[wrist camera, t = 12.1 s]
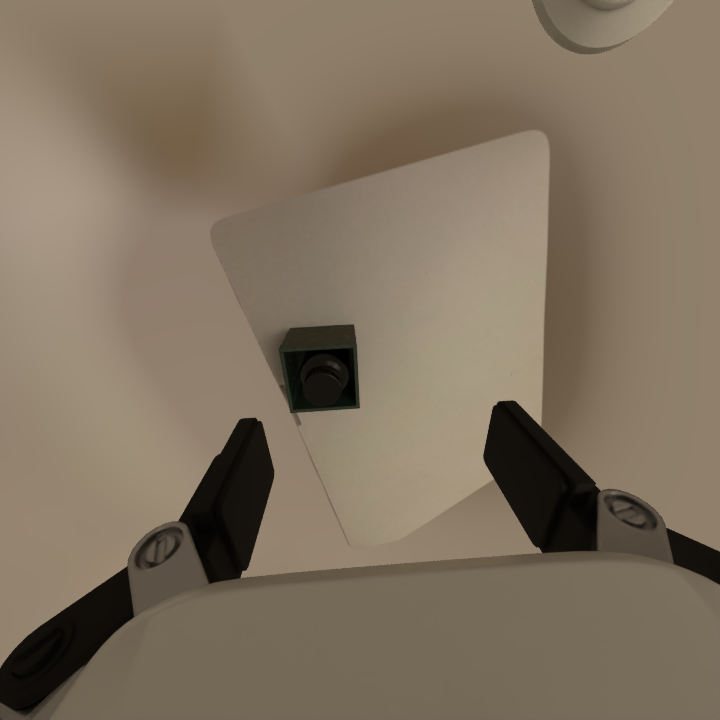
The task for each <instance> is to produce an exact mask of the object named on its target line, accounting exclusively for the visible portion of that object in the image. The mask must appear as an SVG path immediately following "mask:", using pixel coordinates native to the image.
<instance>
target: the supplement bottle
mask: <svg viewBox="0 0 720 720" xmlns="http://www.w3.org/2000/svg"><path fill="white" fill-rule="evenodd" d="M299 377H300V382H301V384H302V386H303V393H304V396H305V397H306V399H308V401H310V402H311V403H313V404H314V405H318V406H327V405H330V404H333V403H335V402H336V401H337V400H338V398H339V397H340V395H341V392H342V391H343V390H344V389H345V388H346V386H347V385H348V382H349V378H350V355H349V348H343V349H326V350H310V351H306V352H305V355H304V358H303V361H302V364H301V367H300V371H299Z"/></svg>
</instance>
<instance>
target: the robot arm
mask: <svg viewBox="0 0 720 720" xmlns="http://www.w3.org/2000/svg"><path fill="white" fill-rule="evenodd" d="M584 1H585V2H586V3H587V4H589V5H590V6H592V7H595V8H598V9H602V10H612V9H617V8H621V7H624V6H626V5H628V4H630V3H632V2H634V1H635V0H584ZM483 457H484V462H485V464H486V466H487V467H488V469H489V471H490V473H491V474H492V476H493V478H494V479H495V481H496V483H497V484H498V486H499V488H500V489H501V491H502V493H503V494H504V496H505V498H506V500H507V501H508V503H509V505H510V506H511V508H512V510H513V511H514V513H515V515H516V516H517V518H518V520H519V521H520V523H521V525H522V527H523V528H524V530H525V531H526V533H527V535H528V537H529V538H530V540H531V542H532V543H533V545H535V547H539V548H540V550H541V551H542V553H536V554H522V555H508V556H494V557H481V558H468V559H454V560H442V561H428V562H416V563H404V564H391V565H379V566H366V567H355V568H343V569H331V570H319V571H308V572H296V573H286V574H277V575H266V576H257V577H247V578H240V577H241V574H242V571H245V570H247V568H248V566H249V563H250V560H251V556H252V553H253V549H254V546H255V542H256V539H257V535H258V532H259V528H260V525H261V521H262V518H263V514H264V511H265V507H266V504H267V500H268V497H269V493H270V490H271V487H272V483H273V479H274V468H273V464H272V460H271V456H270V452H269V448H268V444H267V440H266V436H265V432H264V428H263V424H262V422H261V421H257V419H256V418H244V419H240V420H239V422H238V423H237V425H236V427H235V429H234V430H233V432H232V434H231V436H230V438H229V440H228V442H227V443H226V445H225V447H224V449H223V450H222V452H221V454H219V455H217V456H216V457H215V458H214V460H213V461H212V463H211V465H210V467H209V468H208V470H207V472H206V474H205V475H204V477H203V479H202V481H201V482H200V484H199V486H198V488H197V489H196V491H195V493H194V495H193V497H192V498H191V500H190V502H189V504H188V505H187V507H186V509H185V511H184V512H183V514H182V516H181V517H180V519H179V521H178V522H169V523H165V524H163V525H161V526H159V527H156V528H155V529H153V530H152V531H150V532H149V533H147V534H146V535H145V536H144V537H143V538H142V539H141V540H140V541H139V542H138V543H137V544H136V546H135V547H134V548H133V550H132V552H131V554H130V556H129V558H128V566H127V567H126V568H124V569H123V570H121V571H120V572H118V573H117V574H115V575H114V576H113V577H111V578H110V579H108V580H107V581H105V582H104V583H102V584H101V585H99V586H98V587H96V588H95V589H94V590H92V591H91V592H89V593H88V594H86V595H85V596H84V597H82V598H81V599H79V600H78V601H76V602H75V603H73V604H72V605H70V606H69V607H67V608H66V609H64V610H63V611H62V612H60V613H59V614H57V615H56V616H54V617H53V618H51V619H50V620H49V621H47V622H46V623H44V624H43V625H41V626H40V627H39V628H37V629H36V630H35V631H33V632H32V633H31V634H30V635H28V636H27V637H26V638H25V639H24V640H23V641H22V642H21V643H20V644H19V645H18V646H17V647H16V648H15V649H14V650H13V651H12V653H11V654H10V655H9V657H8V658H7V659H6V660H5V662H4V663H3V665H2V666H1V668H0V720H720V552H719V551H717V550H714V549H713V548H710V547H708V546H706V545H704V544H701V543H699V542H697V541H695V540H693V539H690V538H688V537H686V536H684V535H681V534H679V533H677V532H675V531H672V530H670V529H668V528H666V526H665V523H664V521H663V519H662V517H661V516H660V515H659V514H658V512H657V511H656V510H655V509H654V508H653V507H651V506H650V505H649V504H648V503H646V502H644V501H643V500H641V499H640V498H638V497H636V496H634V495H632V494H629V493H627V492H624V491H621V490H616V489H606V490H602V491H600V490H599V489H598V488H597V487H596V486H595V484H596V483H595V482H594V481H593V480H592V479H591V478H590V477H589V476H588V475H587V474H586V473H585V472H584V470H583V469H582V468H581V467H580V466H579V465H578V464H577V463H576V462H575V461H574V460H573V459H572V458H571V457H570V456H569V455H568V454H567V453H566V452H565V451H564V450H563V449H562V448H561V447H560V446H559V445H558V444H557V443H556V442H555V441H554V440H553V439H552V438H551V437H550V436H549V435H548V434H547V433H546V432H545V431H544V430H543V429H542V428H541V427H540V426H539V425H538V424H537V423H536V422H535V421H534V420H533V419H532V418H531V416H530V415H529V414H528V413H527V412H526V411H525V410H524V409H523V408H522V407H521V406H520V405H519V404H518V403H517V402H515V401H499V402H498V403H497V405H495V406H494V407H493V409H492V414H491V419H490V424H489V429H488V434H487V439H486V444H485V450H484V455H483Z"/></svg>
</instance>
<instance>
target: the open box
mask: <svg viewBox="0 0 720 720" xmlns="http://www.w3.org/2000/svg"><path fill="white" fill-rule="evenodd" d="M343 348H349V355H350V378H349V382H348V385H347V386H346V388H345V389H344V390H343V391H342V392H341V395H340V397H339V398H338V400H337V401H336V402H335V403H333V404H330V405H327V406H318V405H314V404H313V403H311V402H310V401H308V399H306V397H305V396H304V393H303V386H302V384H301V382H300V377H299V371H300V367H301V364H302V361H303V358H304V355H305V352H306V351H310V350H326V349H343ZM279 352H280V358H281V364H282V369H283V375H284V380H285V386H286V391H287V397H288V402H289V408H290V413H298V412H313V411H327V410H342V409H356V408H360V403H359V383H358V363H357V344H356V336H355V329H354V325H338V326H321V327H304V328H290V330H289V331H288V333H287V335H286V337H285V339H284V341H283V342H282V344H281V346H280V348H279Z"/></svg>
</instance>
